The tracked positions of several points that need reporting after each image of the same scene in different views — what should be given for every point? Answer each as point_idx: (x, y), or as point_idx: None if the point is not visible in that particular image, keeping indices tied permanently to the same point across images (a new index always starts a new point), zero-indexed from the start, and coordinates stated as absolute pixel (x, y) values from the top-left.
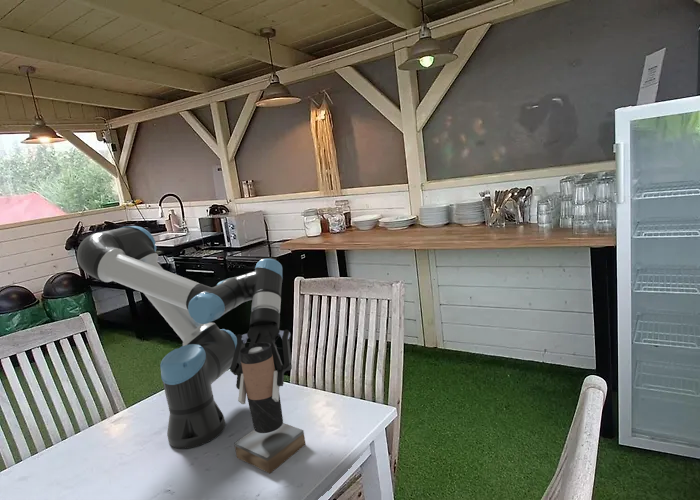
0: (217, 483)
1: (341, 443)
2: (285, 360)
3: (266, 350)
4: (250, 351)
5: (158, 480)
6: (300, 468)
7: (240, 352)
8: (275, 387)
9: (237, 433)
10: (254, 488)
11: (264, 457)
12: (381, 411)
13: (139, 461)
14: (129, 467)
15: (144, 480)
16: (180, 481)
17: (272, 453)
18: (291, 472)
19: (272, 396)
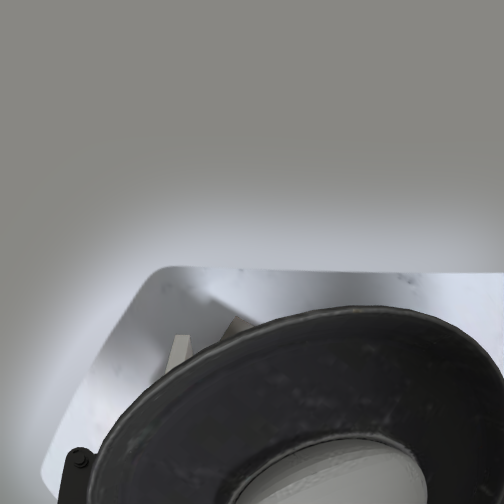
0: (336, 298)
1: (102, 402)
2: (81, 486)
3: (103, 446)
4: (399, 462)
5: (439, 303)
6: (173, 335)
7: (499, 373)
8: (169, 367)
9: None
10: (255, 283)
11: (244, 321)
12: (49, 479)
13: (487, 344)
14: (490, 329)
15: (456, 302)
16: (405, 303)
17: (226, 331)
18: (189, 324)
19: (187, 340)
